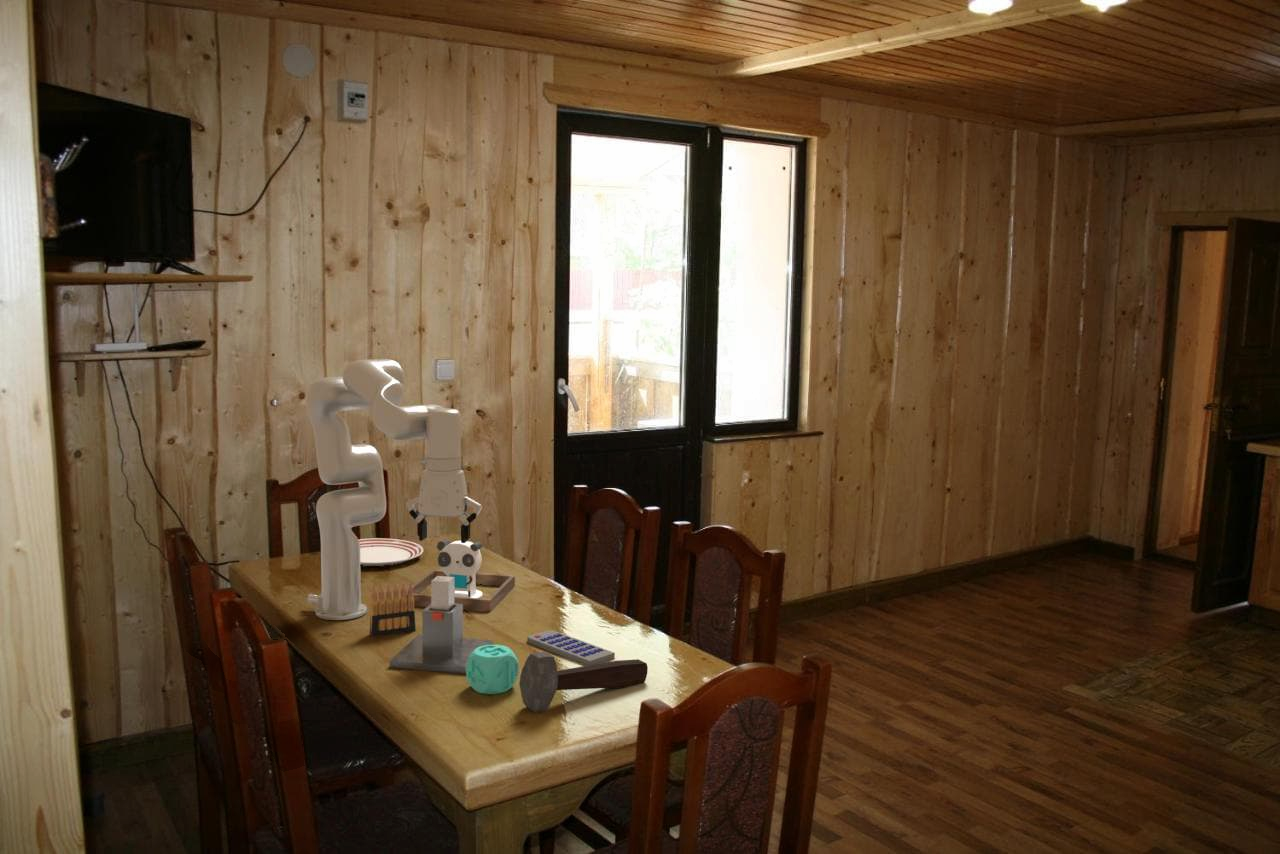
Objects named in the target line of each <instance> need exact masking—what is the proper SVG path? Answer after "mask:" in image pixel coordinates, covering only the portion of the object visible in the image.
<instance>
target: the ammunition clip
mask: <svg viewBox="0 0 1280 854" xmlns="http://www.w3.org/2000/svg"><path fill="white" fill-rule="evenodd" d="M412 585H413V583H412V582H409V584H408V588H407V589H408V599H406V590H407V589H406V585H405V583H404V582H403V583H402V584H401V587H400V594H399V587H398V584H397V583H396V584H395V585H394V587H393V597H392V588H391V586H390V584H387V587H386V595H385V591H384V587H383V585H380V586H379V587H380V588H379V590H378V591H379V592H378V594H377V588H376V586H373V587H372V591H371V603H370V618H369V619H370V621H369V635H370V636H371V637H372V636H374V637H380V636H388V635H395V634H404V633H411V632H416V611H415V606H414V596H413V586H412ZM399 595H400V597H399ZM385 599H386V600H385Z"/></svg>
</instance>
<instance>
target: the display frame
mask: <svg viewBox="0 0 1280 854" xmlns="http://www.w3.org/2000/svg"><path fill="white" fill-rule="evenodd" d="M445 575H446V574H445V573H444V572H443V571H442V570H441V569H432V570H430V571H429V572H428V573H427V574H426V575H424V576H423V577H422V578H420V579H419V580H417V581H416V582H415V583H414V584H412V586H413V596H414V607H424V608H427V607H428V606H429V605H430V604H431V594H424V593H423V594H422V592H423V591H425V590H426V589H427V588H428V587H430V586H431V585H430V584H431V581H432V580H433V579H434V578H435V577H437V576H445ZM480 584H482V585H483V586H494V585H496V586H497V587H498V588H497V590H495V591H494V592H493V593H492V594H491V595H490V596H489V597H488V598H482V597H481V598H467V597H454V603H457V604H463V611H476V612H492V611H493V609H494V608H496V607H497V606H498V604H500V602H501V601H502V600H504V598H505V597H506V596H507V595H508V594H509V593H510V591H512V590H513V589H514V588H515V587H516V575H513V574H499V573H498V574H497V573H486V572H485V573H484V572H476V585H480ZM429 585H430V586H429ZM427 586H428V587H427ZM514 586H515V587H514ZM426 587H427V588H426ZM425 588H426V589H425ZM424 589H425V590H424ZM421 591H422V592H421ZM420 592H421V593H420ZM419 593H420V594H419ZM406 599H408V588H407V589H406Z"/></svg>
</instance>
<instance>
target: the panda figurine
mask: <svg viewBox="0 0 1280 854" xmlns="http://www.w3.org/2000/svg"><path fill="white" fill-rule="evenodd" d="M436 548H437V550H439V551H440V553H439V554H438V557H437V564H438V566H439V568H440V570H442V571H443V572H444V573H445V574H446V575H445V576H446V577H454V597H467V598H481V599H482V597H483V595H484V594H483V591H481V590H479V589H477V587H476V586H477V584H476V573H478V571H479V570H480V568H481V566H482V563H483V561H482V560H483V557H482V554H481V551H480V549H482V548H483V544H482V542H481V541H475V542H472V541H469V540H468V541H467V542H465V543H462V542H461V540H455V541H452V542H451V540H450V539H449V538H445V539H442V540H441V541H439V542H437V545H436Z"/></svg>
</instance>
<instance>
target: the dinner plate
mask: <svg viewBox="0 0 1280 854" xmlns="http://www.w3.org/2000/svg"><path fill="white" fill-rule="evenodd" d="M358 540H359V543H360V565H363V566H362V567H366V566H380V567H385V566H384V565H390V566H393V565H392V564H395V565H399V564H402V563H404V562H409V561H410V560H414V559H415V558H417V557H419V556H421V555H422V554H423V553H424V548H423V546H421V545H420V544H419V543H416V542H413V541H410V540H403V539H395V538H386V537H385V538H382V537H381V538H380V537H379V538H378V537H374V538H360V539H359V538H358ZM372 546H373V547H372ZM398 563H399V564H398Z"/></svg>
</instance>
